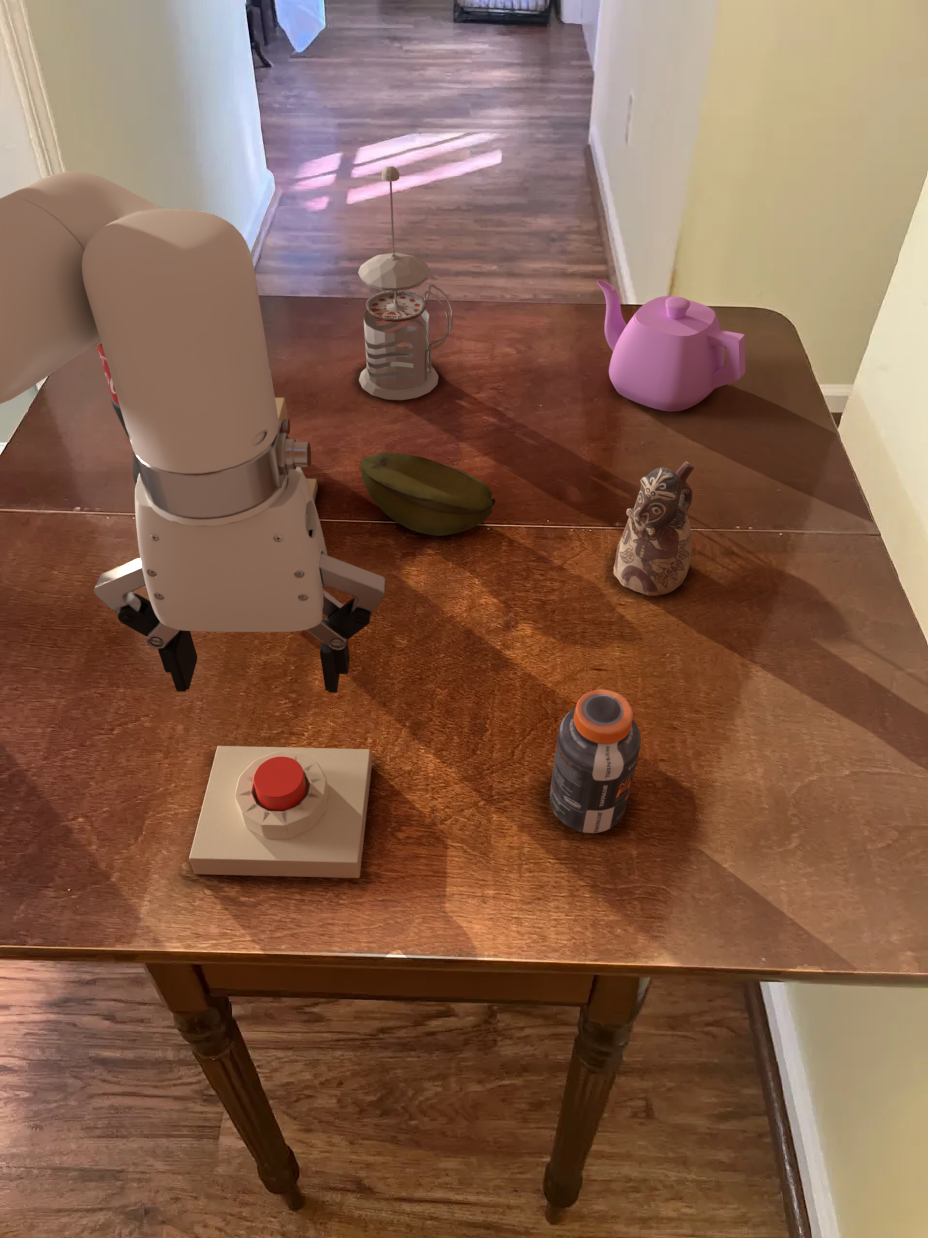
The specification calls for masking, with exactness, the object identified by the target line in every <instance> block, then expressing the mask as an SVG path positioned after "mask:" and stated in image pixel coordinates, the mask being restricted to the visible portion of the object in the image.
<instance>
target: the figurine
mask: <svg viewBox="0 0 928 1238" xmlns="http://www.w3.org/2000/svg"><path fill="white" fill-rule="evenodd" d="M694 469H695V466H694V465H691V464H690V463H689V462H688V461H684V463H682V465H680V467H679V468H678V469H677V470H676V471H673V470H672V469H670V468H668V467H665V466H660V467H658V468H655V469H653V470H651V471H650V472H649V473H648V474H647V475H645V476H643V477H642V478H641V479H640V488H639V492H638V494H637V498H636V500H635V504H634V507H633V508H627V509H626V512H625V513H626V515H627V517H628V519H627V521H626V524H625V527H624V530H623V532H622V536H621V538H620V539H619V541H618V543H617V547H616V551H615V559H614V560H615V561H614V566H613V575H614V577H616V578H617V580H618V581H619V583H620V584H621V585H622V586H623V587H625V588H628V589H630V590H632V591H634V592H637V593H640V594H642V595H644V596H645V595H646V596H650V597H651V596H654V597H655V596H656V597H657V596H661V595H662V596H663V595H667V594H669V593H672V592H673V591H675V590H676V589H677V588H679V587H680V586H681V585H682V584H683V583H684V581H685V579H686V577H687V575H688V572H689V569H690V566H691V560H692V549H693V541H692V539H693V538H692V527H691V522H690V520H689V517H688V512H689V509H690V506H691V505H692V501H693V489H692V488H691V486H690V485H689V484H688V482H687V480H688V478H689V476H690V475H691V474H692V472H693V470H694Z"/></svg>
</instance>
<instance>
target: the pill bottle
mask: <svg viewBox="0 0 928 1238" xmlns="http://www.w3.org/2000/svg"><path fill="white" fill-rule="evenodd" d="M633 718H634V711H633V707H632V705H631V703H630V702H629V701H628V700H627V698H625V697H624V696H623V695H622V694H620V693H618V692H616V691H612V690H608V689H594V690H591V691H587V692H586V693H584V694H582V695H581V696H580V698H579V699H578V701H577V702H576V705H575V707H574V708H572V709H571V710H570V711H568V712H567V713H566V714H565V715H564V717H563V718H562V720H561V722H560V724H559V727H558V731H557V739H556V744H555V745H556V746H555V753H554V759H553V767H552V773H551V781H550V789H549V803H550V808H551V810H552V812H553V814H554V816H555V818H557V820H559V821H560V822H561V823H562V824H564V826H566V827H568V828H569V829H572V830H574V831H576V832H578V833H579V832H580V833H585V834H598V833H602V832H605V831H608V830H610V829H612V828H614V827H615V826H617V824H619V822H621V820H623V819H622V818H623V817H624V815H625V813H626V809H627V805H628V802H629V801H628V800H629V797H630V792H631V789H632V783H633V780H634V775H635V771H636V767H637V764H638V759H639V756H640V755H639V754H640V751H641V746H642V745H641V744H642V736H641V732H640V728H639V726H638V724H637V723H636V722H635V720H634V719H633Z"/></svg>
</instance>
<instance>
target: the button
mask: <svg viewBox="0 0 928 1238" xmlns="http://www.w3.org/2000/svg"><path fill="white" fill-rule="evenodd" d="M253 781H254V786H255V790H256V794H257V798H258V800H259V802H260V803H261V804H262V805H263V806H264V807H266V808H268V809H270V810H274V811H282V810H287V809H290V808H292V807H294V806H295V805H297V804H298V803H299V802H300V801H301V800H302V799H303V797H304V795H305V792H306V783H305V777H304V772H303V769H302V766H301V765H300V764H299V763H298V762H297V761H296V760H294V759H292V758H289V757H283V756H281V757H274V758H271V759H268V760H266V761H265V762H263V763H262V764H261V765H260V766H259V767H258V768H257V770H256V772H255V774H254V778H253Z"/></svg>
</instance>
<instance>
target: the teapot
mask: <svg viewBox="0 0 928 1238" xmlns="http://www.w3.org/2000/svg"><path fill="white" fill-rule="evenodd" d="M596 283H597V285H598V286H599V287H600V289H601V291H602V292H603V294H604V297H605V304H606V305H605V307H606V308H605V318H604V338H605V341H606V342H607V345H608V347H609V348H610V350H611V351H612V354H611V358H610V362H609V366H608V376H609V379H610V381H611V383H612V385H613V387H614V389H615V391H616V392H617V393H618V394H619V395H621V396H622V397H624V398H625V399H628V400H630V401H632V402H634V403H637V404H640V405H642V406H645V407H648V408H652V409H655V410H659V411H664V412H681V411H684V410H688V409H690V408H692V407H694V406H696V405H697V404H699V403H701V402H702V401H704V399H705V398H707V397H708V396H709V395H710V394H711V393H712V392H713V391H714V390H715V389H717V388H719V387H723V386H725V385H728V384H731V383H734V382H736V381H737V382H738V381H739V380H741V379H742V377H743V376H744V375H745V374H746V335H745V333H739V332H734V331H728V330H723V329H721V324H720V321H719V318H718V316H717V313H716V311H715V310H714V309H713V308H712V307H709V306H707V305H705V304H702V303H700V302H697V301H694V300H690V299H687V298H685V297H682V296H675V295H663V296H659V297H655V298H653V299H651V300H649V301H647V302H646V303H644V304H643V305H642V306H640V307H639V308H638V309H637V311H636V312H635V313H634V314H633V316H632V317H631V318H630V320H629V321H628V323H626V322H625V320H624V318H623V314H622V307H621V300H620V296H619V293H618V290H616V288H615V287H614V285H612V284H611V283H609V282H608V281H606V280H603V279H596ZM725 348H726V358H725ZM725 359H726V360H725Z"/></svg>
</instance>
